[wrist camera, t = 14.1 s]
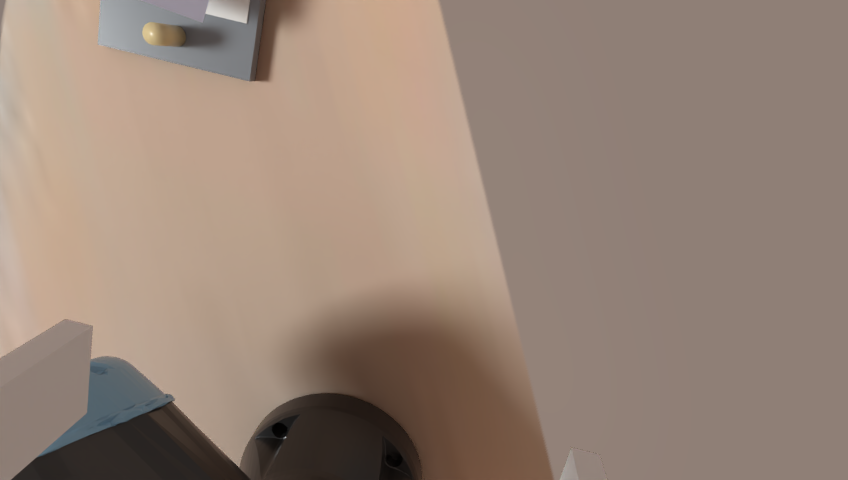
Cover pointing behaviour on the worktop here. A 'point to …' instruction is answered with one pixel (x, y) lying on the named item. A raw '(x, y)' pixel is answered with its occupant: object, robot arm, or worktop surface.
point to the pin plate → (188, 34)
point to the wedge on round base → (183, 7)
